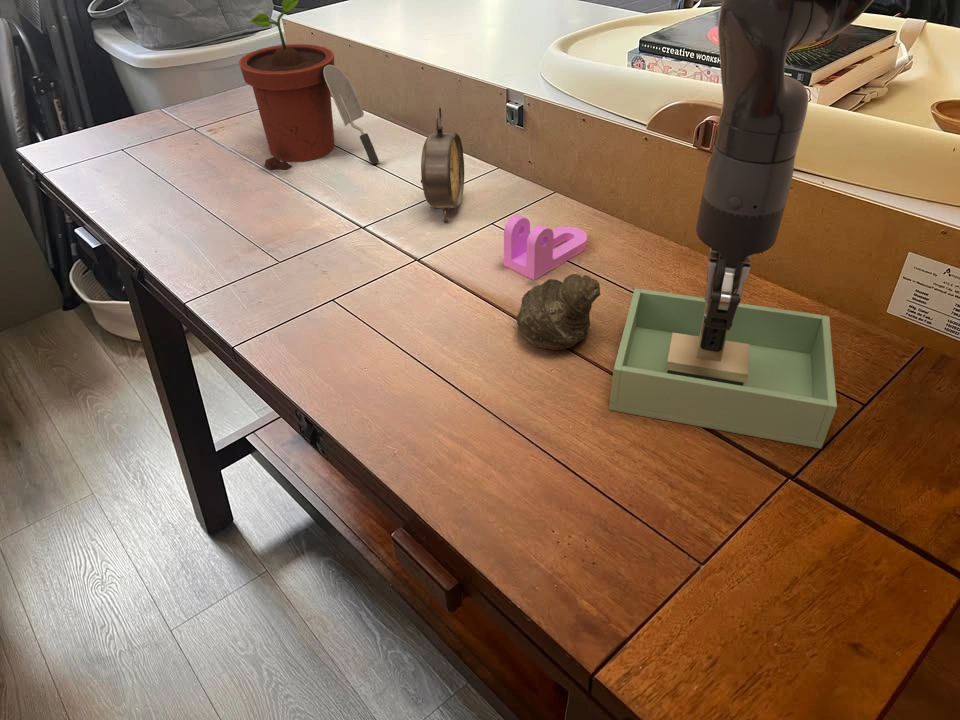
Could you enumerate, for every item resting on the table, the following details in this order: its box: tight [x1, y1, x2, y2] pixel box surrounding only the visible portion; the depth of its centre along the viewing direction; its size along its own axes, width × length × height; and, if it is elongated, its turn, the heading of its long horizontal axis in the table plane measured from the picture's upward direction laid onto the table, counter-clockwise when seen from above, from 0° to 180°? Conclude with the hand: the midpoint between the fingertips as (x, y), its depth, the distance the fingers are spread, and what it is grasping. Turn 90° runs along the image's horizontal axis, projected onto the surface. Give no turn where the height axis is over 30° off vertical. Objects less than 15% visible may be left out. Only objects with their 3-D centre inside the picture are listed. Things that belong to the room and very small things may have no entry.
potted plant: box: [238, 0, 380, 171], centre depth 128 cm, size 18×22×25 cm
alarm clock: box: [420, 105, 465, 224], centre depth 113 cm, size 11×5×16 cm, turn 171°
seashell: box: [515, 273, 601, 351], centre depth 90 cm, size 11×12×10 cm
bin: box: [608, 287, 838, 450], centre depth 83 cm, size 22×16×6 cm
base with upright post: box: [666, 302, 750, 386], centre depth 82 cm, size 8×5×10 cm, turn 73°
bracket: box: [503, 214, 588, 281], centre depth 105 cm, size 13×6×7 cm, turn 135°
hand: (711, 339), depth 82 cm, fingers closed on base with upright post, 2 cm apart
